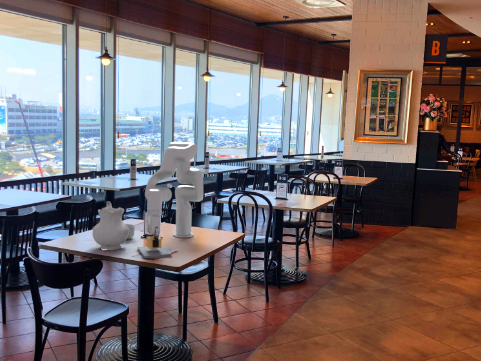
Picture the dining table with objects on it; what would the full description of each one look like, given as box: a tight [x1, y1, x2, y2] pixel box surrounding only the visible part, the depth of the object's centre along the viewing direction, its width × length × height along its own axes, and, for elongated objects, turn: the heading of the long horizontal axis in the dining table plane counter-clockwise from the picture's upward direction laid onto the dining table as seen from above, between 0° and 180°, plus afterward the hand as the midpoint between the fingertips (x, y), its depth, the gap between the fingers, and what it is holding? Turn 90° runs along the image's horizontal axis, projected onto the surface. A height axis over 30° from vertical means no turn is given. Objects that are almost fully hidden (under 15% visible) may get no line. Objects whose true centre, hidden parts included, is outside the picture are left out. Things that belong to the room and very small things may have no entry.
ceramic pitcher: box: [92, 201, 129, 251], centre depth 259 cm, size 22×20×25 cm
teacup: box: [124, 223, 136, 241], centre depth 279 cm, size 14×11×8 cm
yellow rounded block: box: [145, 236, 163, 249], centre depth 250 cm, size 6×6×5 cm
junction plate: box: [136, 244, 172, 259], centre depth 251 cm, size 18×14×5 cm
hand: (153, 245), depth 250 cm, fingers closed on yellow rounded block, 6 cm apart
